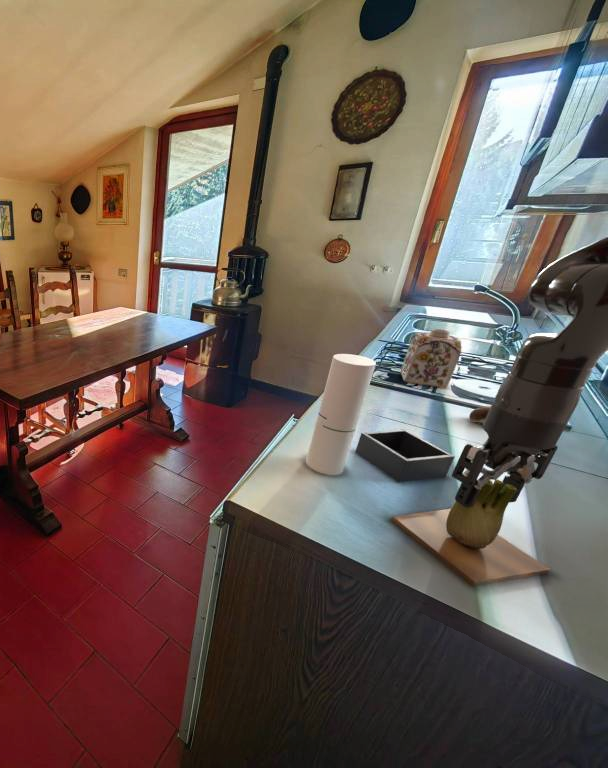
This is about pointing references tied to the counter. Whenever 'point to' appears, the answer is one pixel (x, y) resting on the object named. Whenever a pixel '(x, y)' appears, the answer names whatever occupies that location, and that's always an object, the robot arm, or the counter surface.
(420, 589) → the counter surface
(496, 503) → the fennel bulb
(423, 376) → the decorative jar
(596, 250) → the robot arm
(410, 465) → the bin
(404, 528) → the board
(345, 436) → the cylindrical container
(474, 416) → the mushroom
